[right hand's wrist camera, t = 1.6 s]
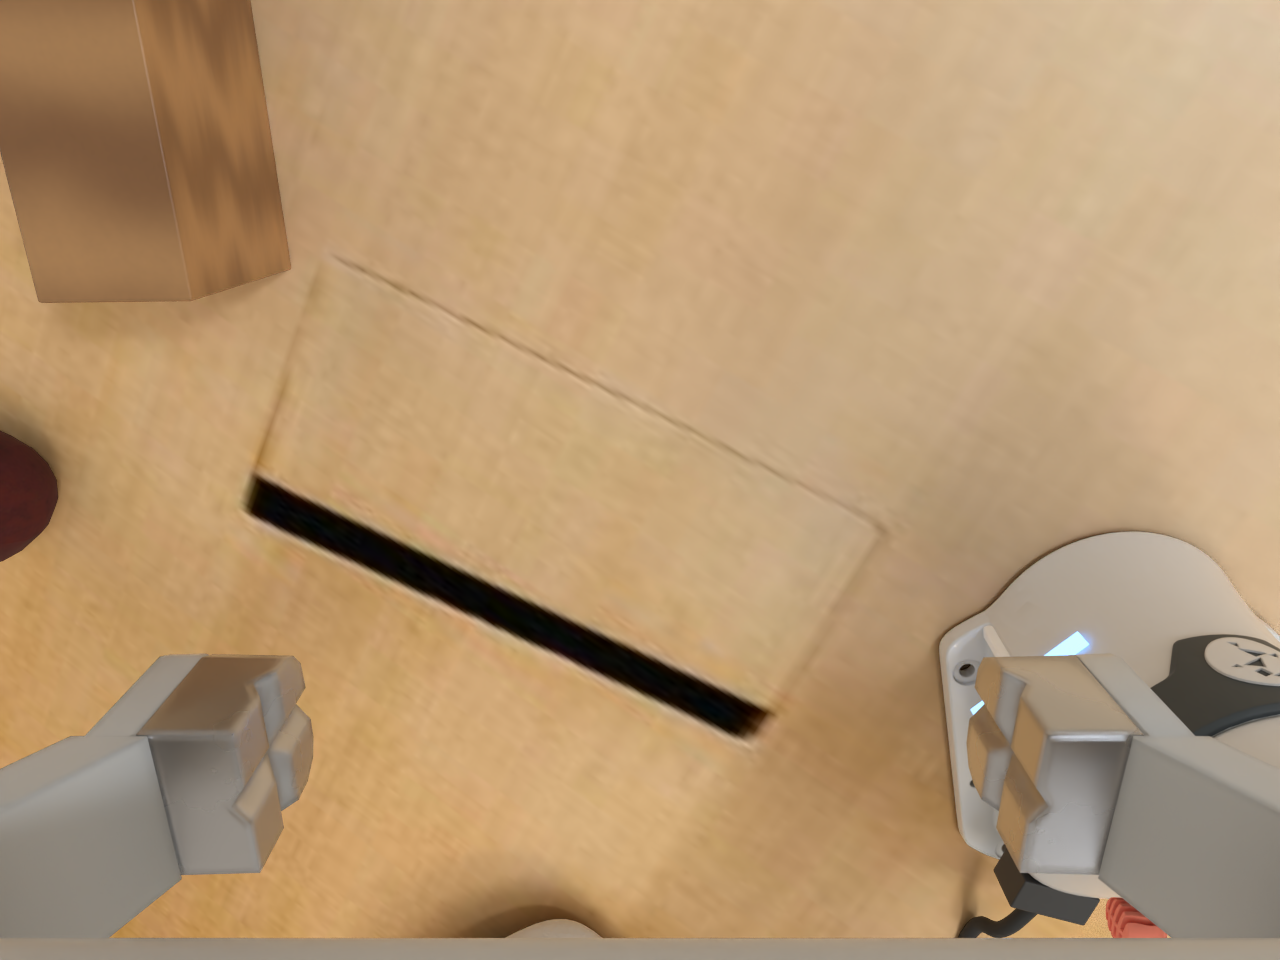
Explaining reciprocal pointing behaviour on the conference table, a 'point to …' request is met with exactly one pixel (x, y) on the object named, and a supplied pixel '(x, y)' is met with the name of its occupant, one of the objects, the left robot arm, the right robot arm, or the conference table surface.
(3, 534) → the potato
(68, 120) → the box
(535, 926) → the white plastic device
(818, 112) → the conference table surface
